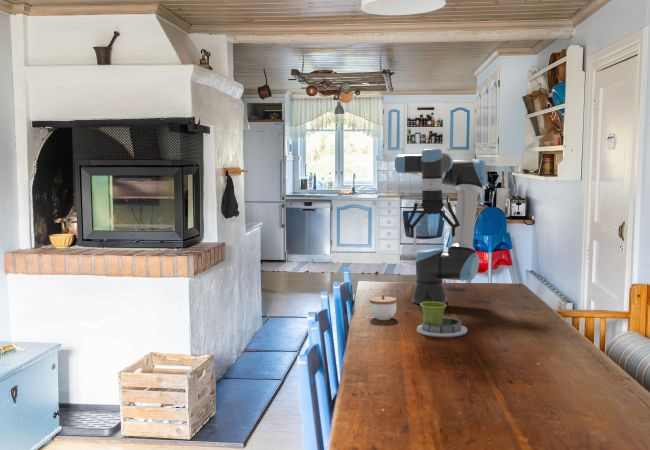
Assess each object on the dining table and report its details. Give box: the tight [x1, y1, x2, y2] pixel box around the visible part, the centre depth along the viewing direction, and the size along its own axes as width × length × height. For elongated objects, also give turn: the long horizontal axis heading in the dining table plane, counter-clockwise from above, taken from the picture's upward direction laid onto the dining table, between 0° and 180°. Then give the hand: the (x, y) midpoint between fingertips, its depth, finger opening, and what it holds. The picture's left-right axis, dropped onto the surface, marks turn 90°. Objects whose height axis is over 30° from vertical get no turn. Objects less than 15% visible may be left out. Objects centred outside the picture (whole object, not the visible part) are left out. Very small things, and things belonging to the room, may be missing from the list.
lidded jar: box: [368, 294, 398, 321], centre depth 265 cm, size 11×11×9 cm
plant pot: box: [419, 302, 447, 325], centre depth 243 cm, size 9×9×9 cm
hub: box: [416, 316, 468, 338], centre depth 243 cm, size 18×18×4 cm
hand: (432, 245), depth 258 cm, fingers open, 13 cm apart
